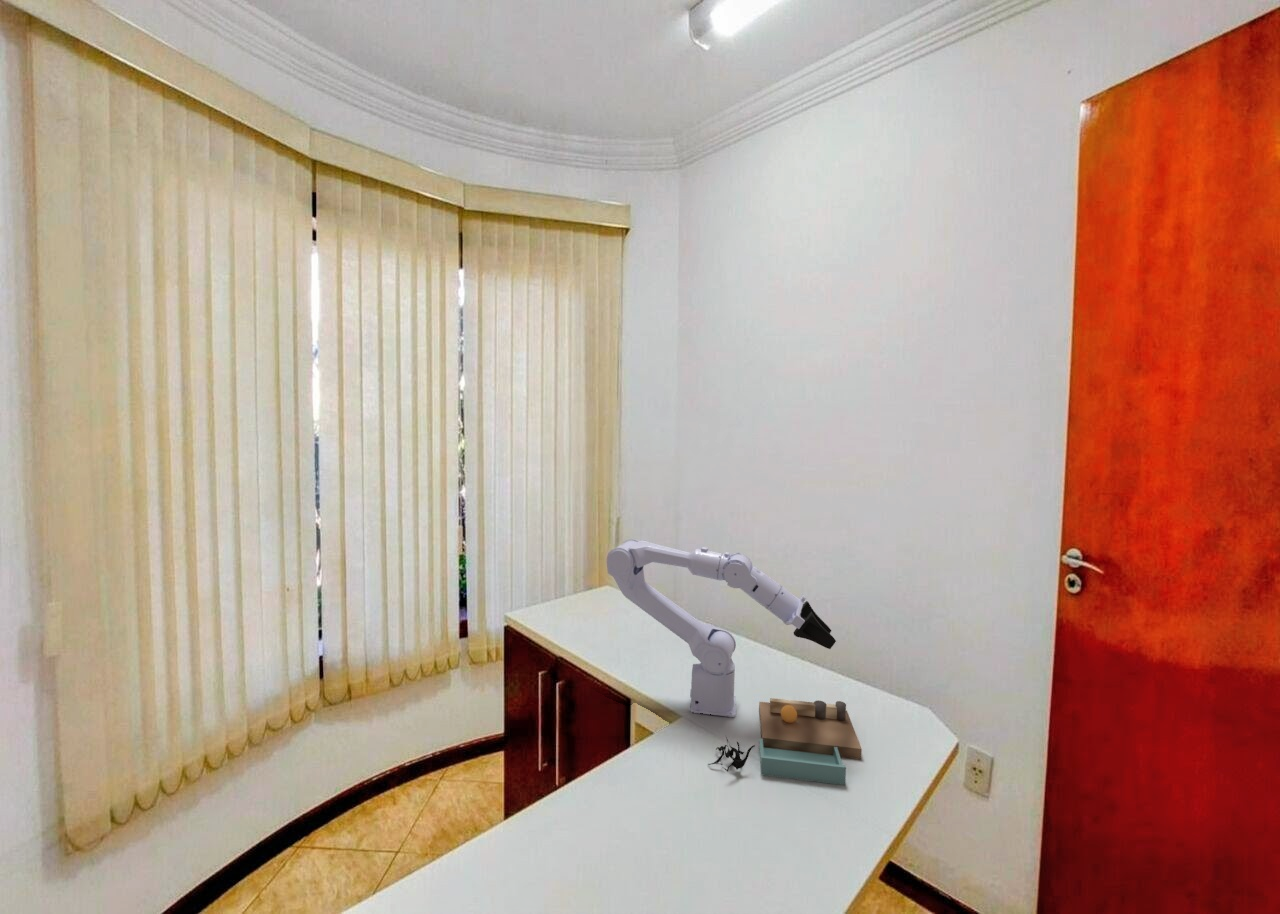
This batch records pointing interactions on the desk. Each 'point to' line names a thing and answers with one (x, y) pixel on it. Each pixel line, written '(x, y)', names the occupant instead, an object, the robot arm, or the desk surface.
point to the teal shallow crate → (802, 765)
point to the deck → (808, 734)
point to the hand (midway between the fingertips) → (830, 639)
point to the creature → (737, 760)
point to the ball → (788, 714)
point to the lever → (811, 708)
